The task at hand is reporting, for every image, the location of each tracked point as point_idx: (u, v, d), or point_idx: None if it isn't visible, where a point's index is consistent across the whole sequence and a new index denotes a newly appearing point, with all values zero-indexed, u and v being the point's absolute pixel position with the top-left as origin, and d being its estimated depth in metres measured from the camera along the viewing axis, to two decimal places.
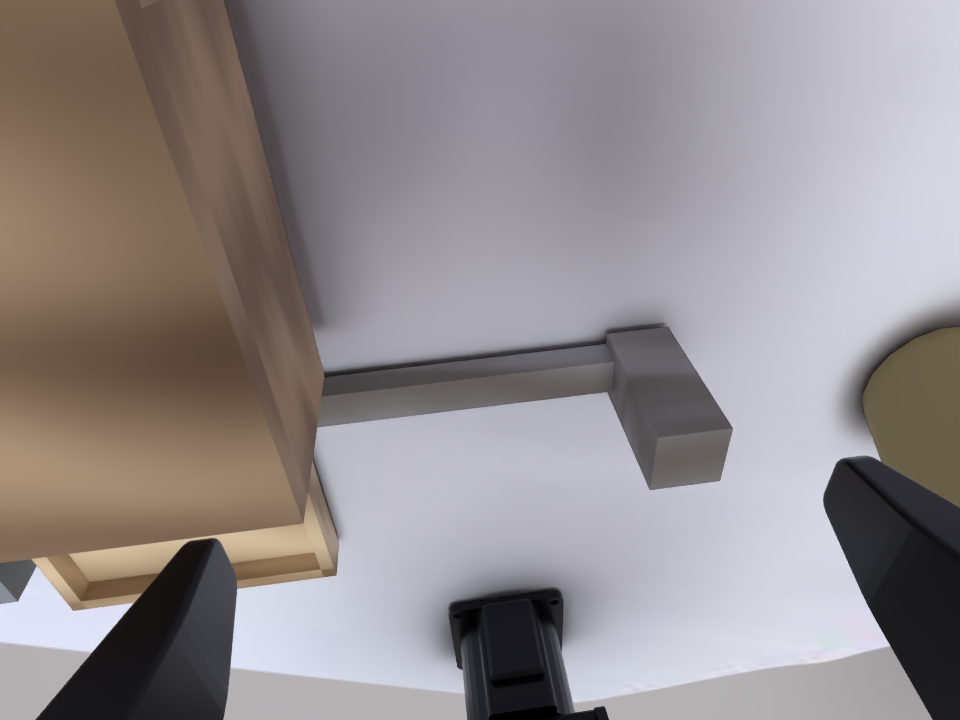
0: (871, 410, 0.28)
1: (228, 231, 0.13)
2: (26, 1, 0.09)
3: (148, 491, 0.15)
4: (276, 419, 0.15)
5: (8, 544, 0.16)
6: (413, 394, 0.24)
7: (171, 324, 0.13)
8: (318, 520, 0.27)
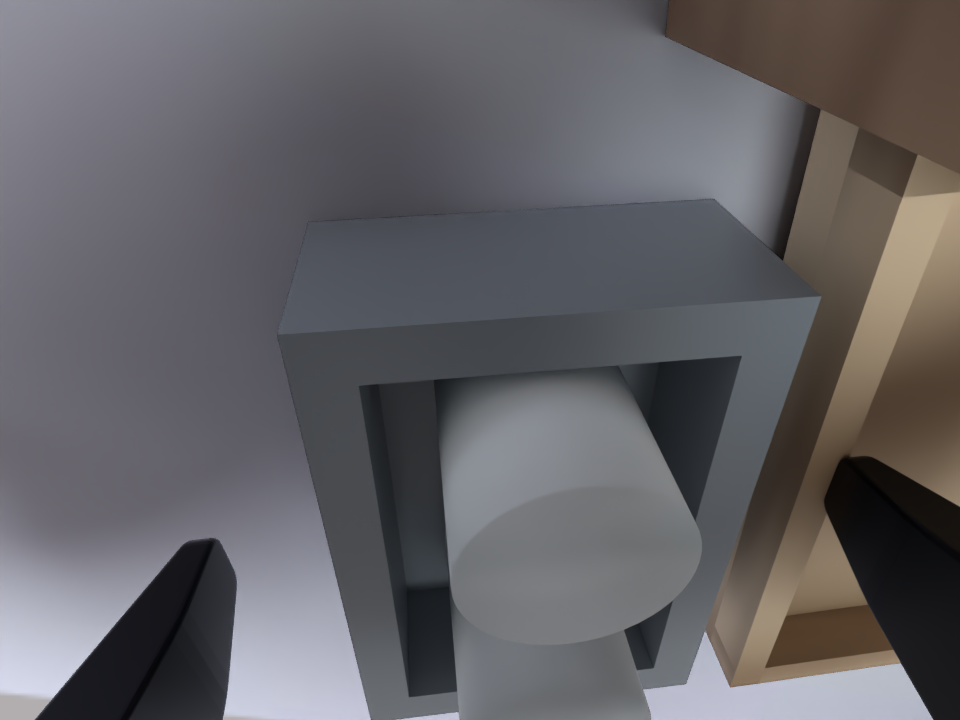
0: None
1: None
2: None
3: None
4: None
5: None
6: None
7: None
8: None
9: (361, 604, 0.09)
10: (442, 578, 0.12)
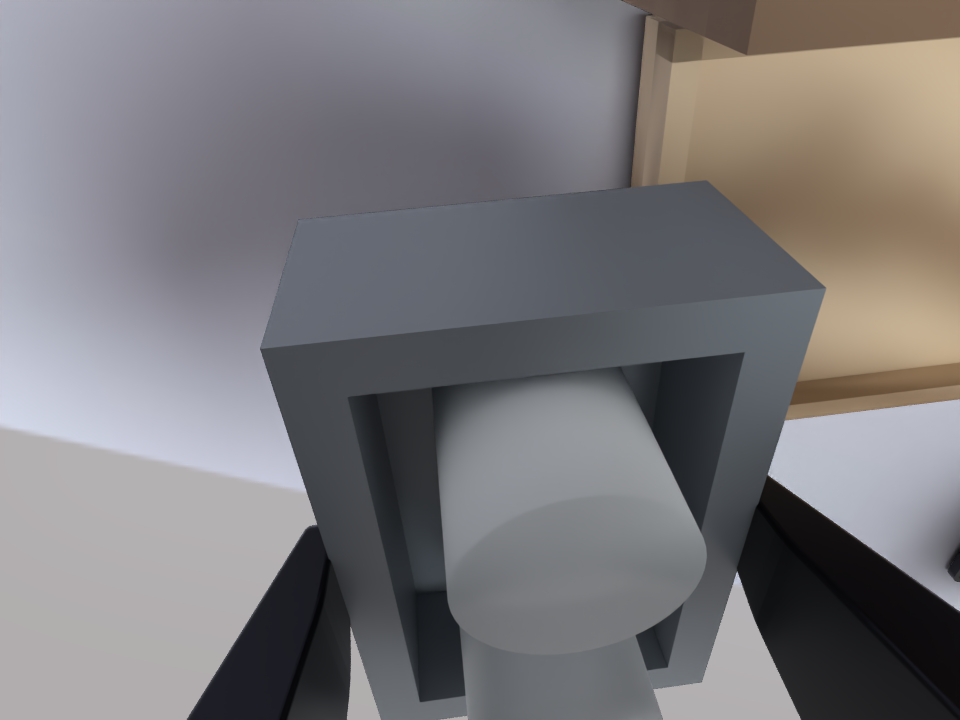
0: None
1: None
2: None
3: None
4: None
5: None
6: None
7: None
8: None
9: (365, 613, 0.09)
10: None
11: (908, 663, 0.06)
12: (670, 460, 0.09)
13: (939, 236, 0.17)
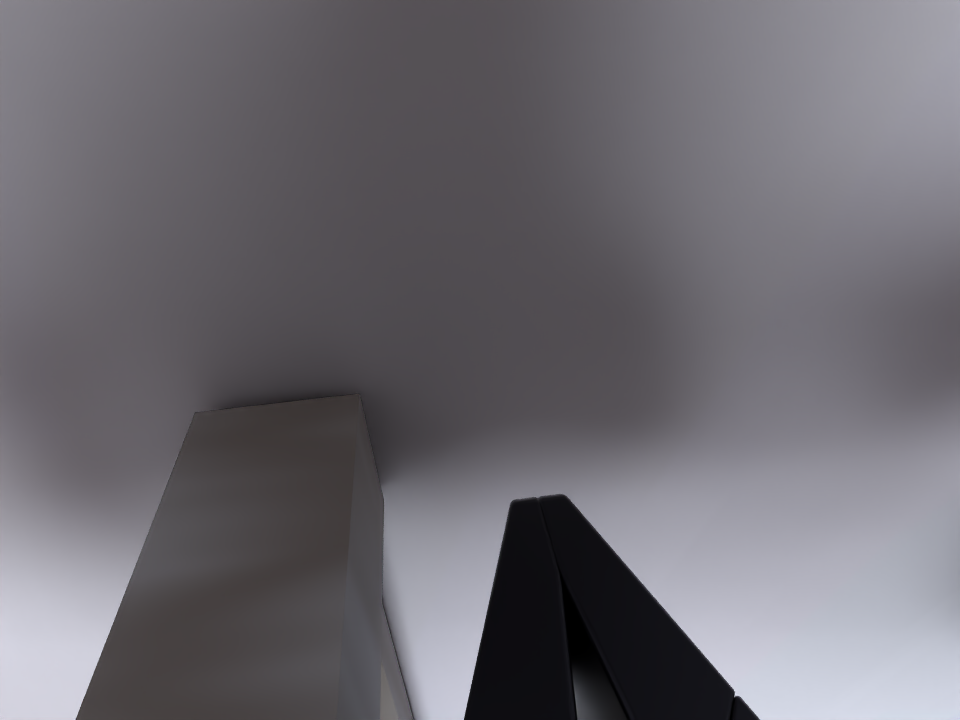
0: None
1: None
2: None
3: None
4: None
5: None
6: None
7: None
8: None
9: None
10: None
11: (625, 705, 0.06)
12: None
13: None
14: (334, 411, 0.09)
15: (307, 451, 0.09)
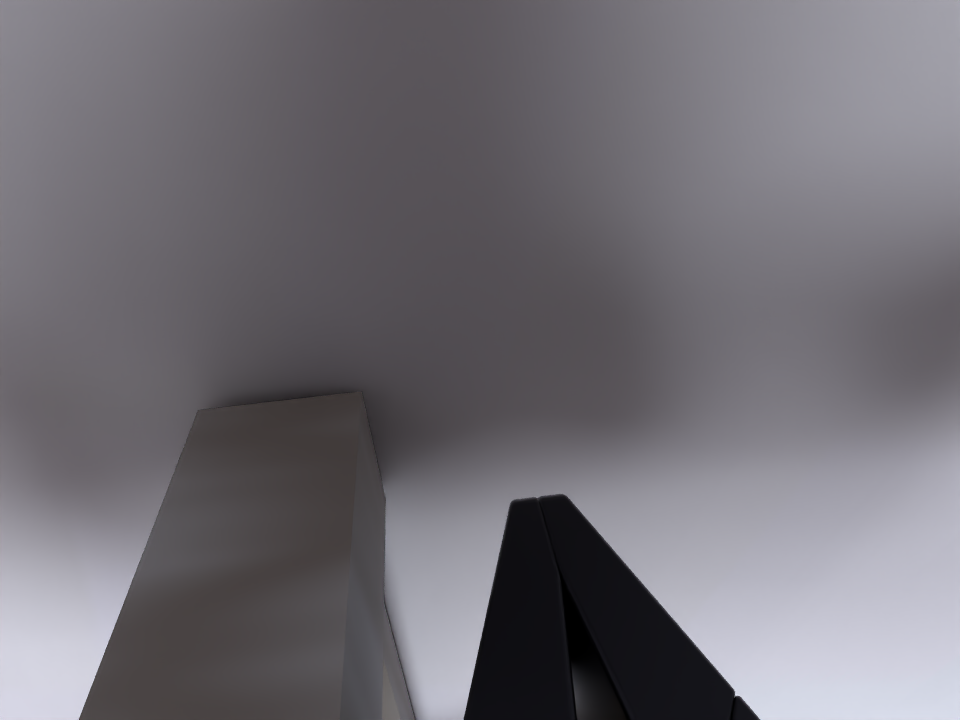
0: None
1: None
2: None
3: None
4: None
5: None
6: None
7: None
8: None
9: None
10: None
11: (625, 705, 0.06)
12: None
13: None
14: (337, 409, 0.09)
15: (310, 448, 0.09)
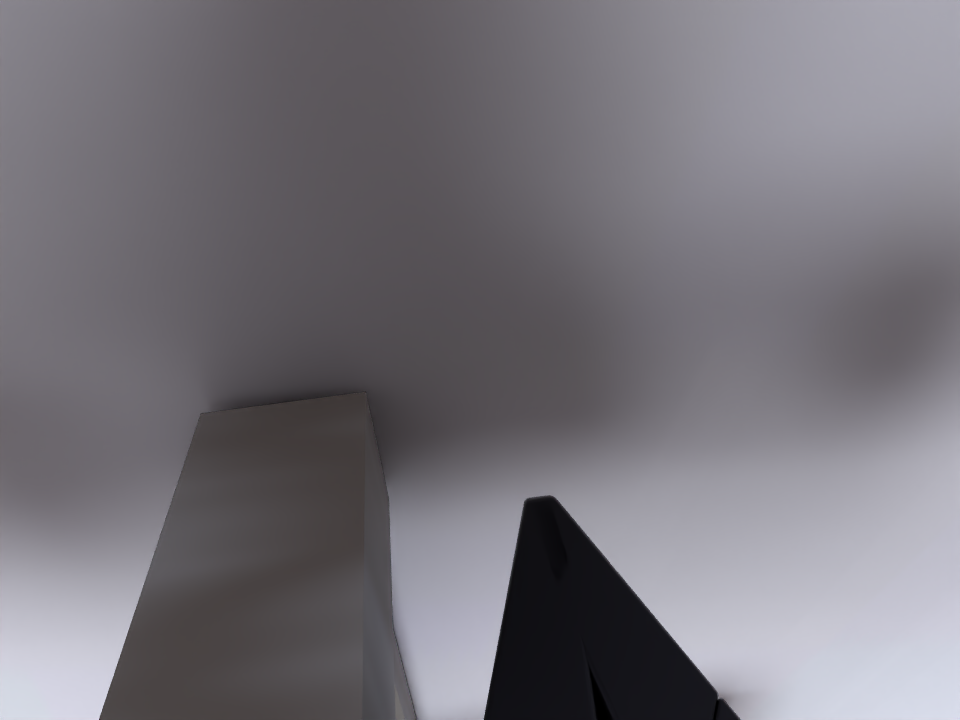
0: None
1: None
2: None
3: None
4: None
5: None
6: None
7: None
8: None
9: None
10: None
11: (608, 707, 0.06)
12: None
13: None
14: (342, 409, 0.09)
15: (316, 449, 0.09)
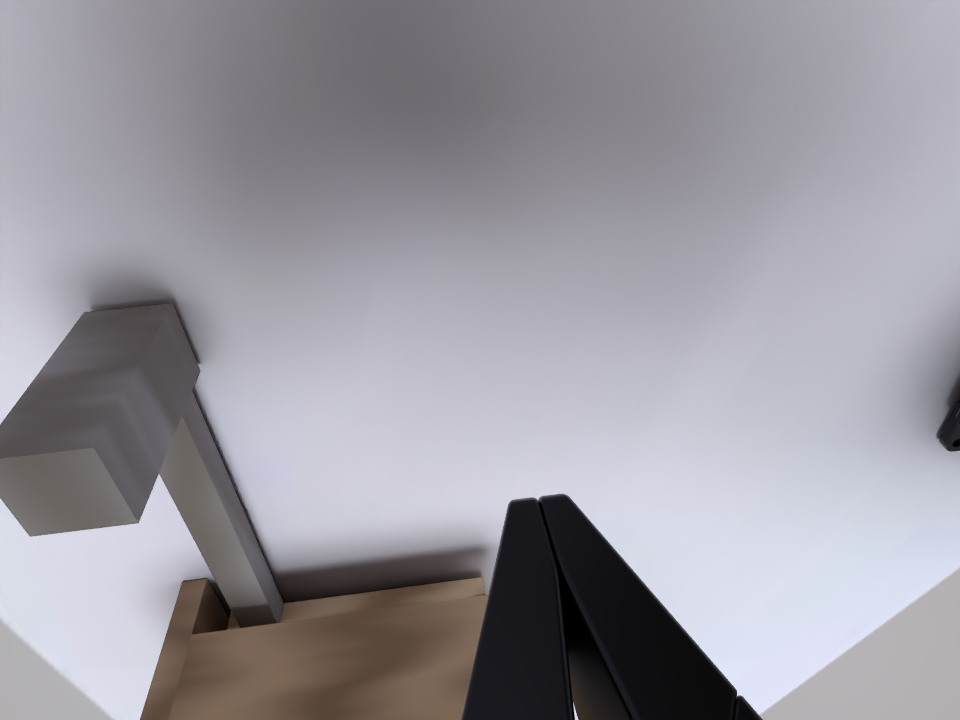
0: None
1: None
2: None
3: None
4: None
5: None
6: (218, 561, 0.23)
7: None
8: None
9: None
10: None
11: (627, 704, 0.06)
12: None
13: None
14: (155, 310, 0.18)
15: (135, 327, 0.17)
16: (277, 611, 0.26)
